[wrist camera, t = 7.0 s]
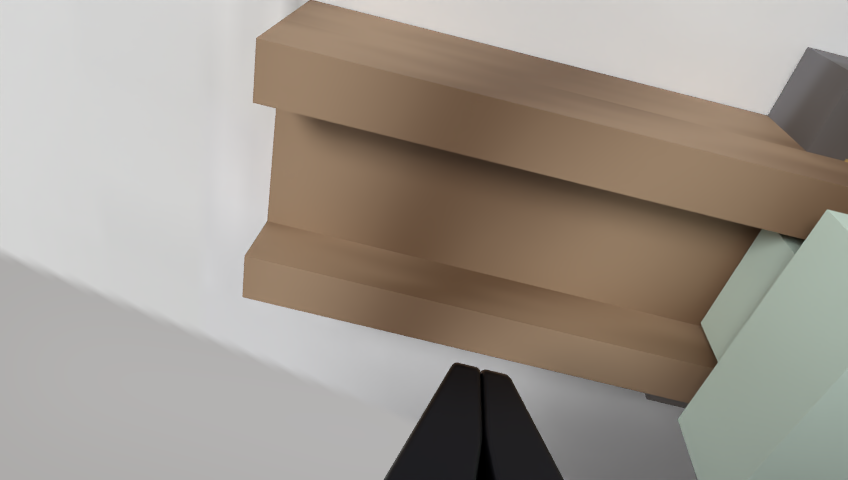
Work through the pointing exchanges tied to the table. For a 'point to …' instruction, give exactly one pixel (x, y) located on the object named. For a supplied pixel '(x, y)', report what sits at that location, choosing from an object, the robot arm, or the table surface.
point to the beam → (525, 196)
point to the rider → (777, 363)
